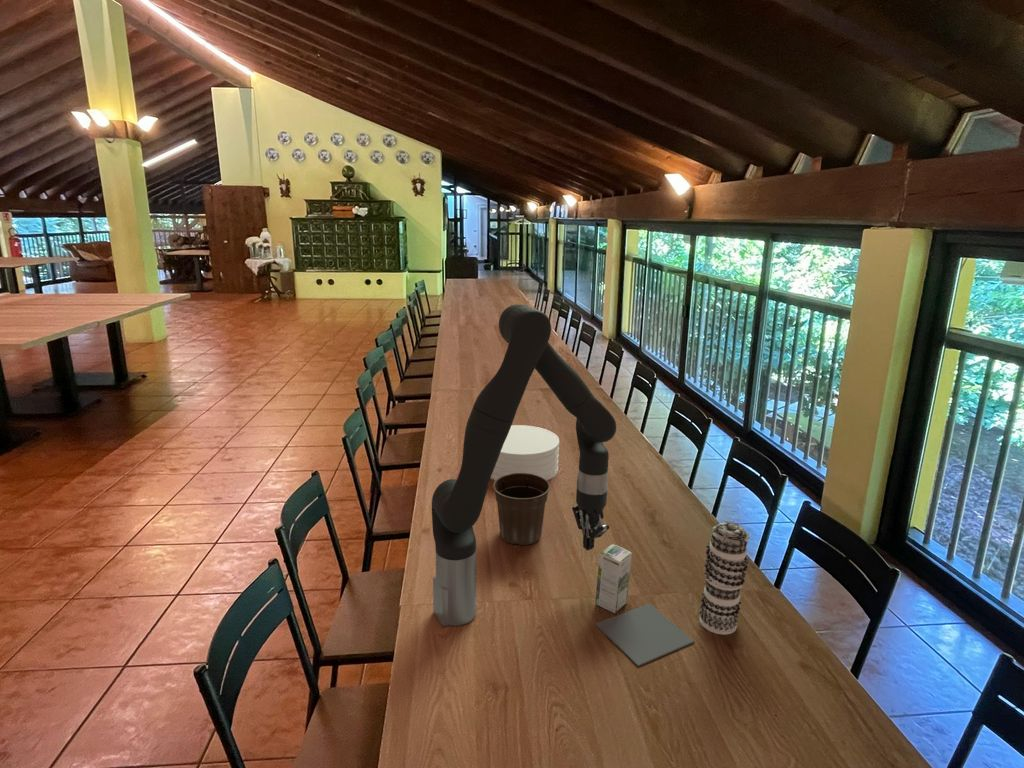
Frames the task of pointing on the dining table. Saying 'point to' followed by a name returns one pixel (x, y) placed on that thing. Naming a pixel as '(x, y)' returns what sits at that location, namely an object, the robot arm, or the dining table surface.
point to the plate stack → (528, 453)
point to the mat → (644, 634)
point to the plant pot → (521, 506)
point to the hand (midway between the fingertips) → (588, 548)
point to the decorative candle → (724, 578)
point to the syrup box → (613, 578)
